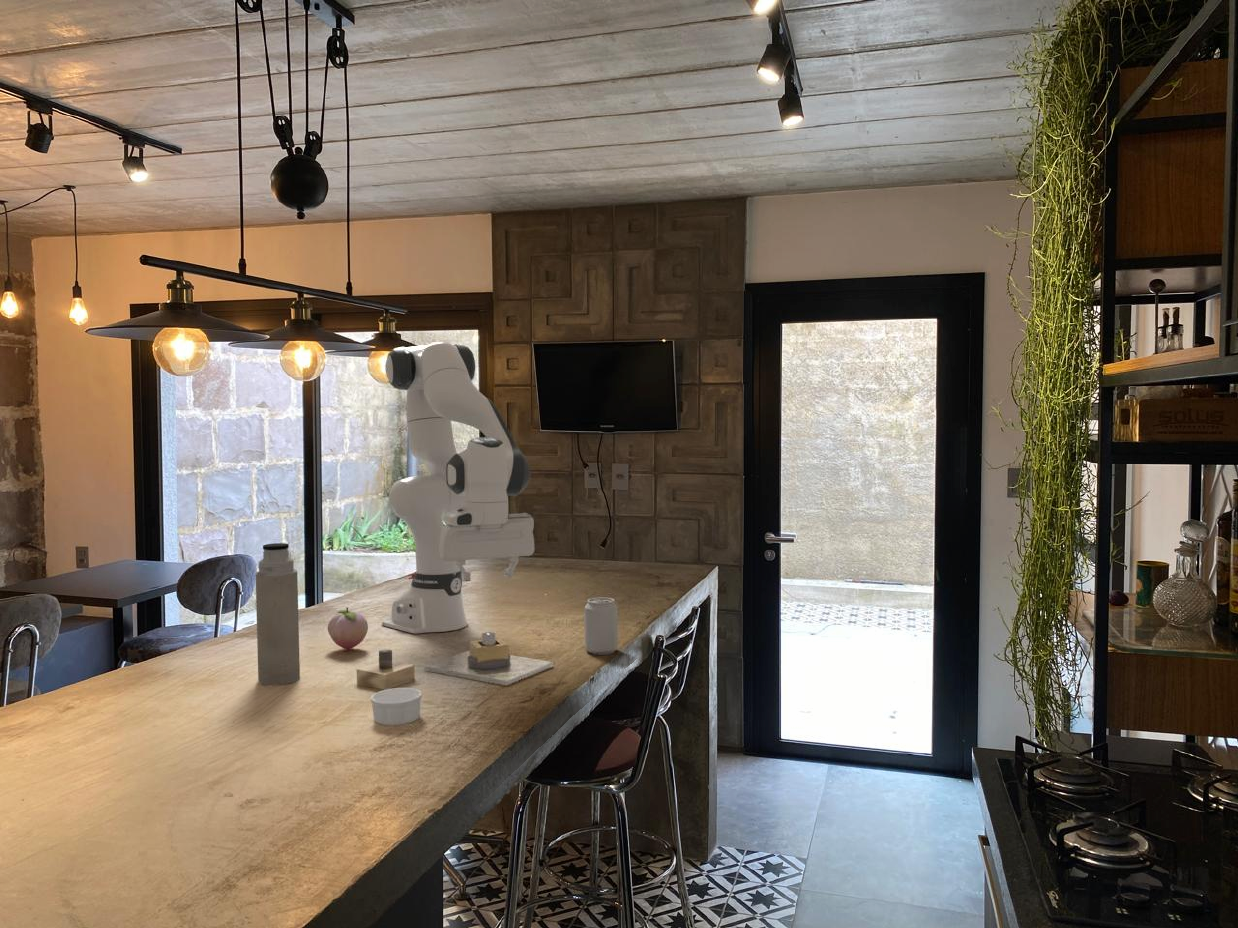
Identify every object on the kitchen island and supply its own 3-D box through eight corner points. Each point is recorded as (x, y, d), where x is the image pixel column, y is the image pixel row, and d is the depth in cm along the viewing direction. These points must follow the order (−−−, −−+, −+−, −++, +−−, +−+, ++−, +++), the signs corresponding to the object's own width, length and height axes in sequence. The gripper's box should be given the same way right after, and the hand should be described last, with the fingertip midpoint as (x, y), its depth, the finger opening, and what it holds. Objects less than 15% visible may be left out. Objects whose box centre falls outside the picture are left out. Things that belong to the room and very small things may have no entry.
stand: (356, 683, 181) (356, 652, 181) (386, 673, 188) (385, 644, 188) (385, 689, 177) (385, 658, 177) (414, 679, 184) (414, 649, 184)
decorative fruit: (376, 649, 208) (375, 607, 207) (343, 656, 202) (343, 612, 201) (354, 643, 214) (353, 601, 214) (322, 649, 208) (321, 606, 208)
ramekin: (396, 730, 154) (395, 705, 154) (360, 721, 159) (359, 697, 159) (432, 715, 162) (432, 692, 162) (397, 707, 167) (396, 684, 166)
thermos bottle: (276, 672, 189) (273, 540, 188) (308, 676, 187) (305, 542, 185) (249, 683, 182) (245, 545, 180) (282, 687, 179) (278, 547, 178)
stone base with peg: (424, 670, 191) (423, 635, 190) (473, 653, 204) (473, 620, 204) (506, 685, 179) (506, 648, 179) (553, 666, 193) (552, 632, 193)
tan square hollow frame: (469, 654, 193) (469, 641, 193) (499, 651, 196) (499, 637, 196) (477, 662, 187) (477, 648, 187) (508, 658, 190) (508, 644, 190)
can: (614, 656, 201) (613, 603, 200) (581, 654, 203) (581, 601, 202) (620, 647, 208) (620, 596, 208) (589, 646, 210) (588, 595, 209)
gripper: (528, 510, 198) (529, 573, 199) (436, 515, 189) (437, 580, 190) (538, 513, 192) (539, 577, 193) (444, 518, 183) (444, 585, 184)
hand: (487, 579), depth 191 cm, fingers open, 8 cm apart
